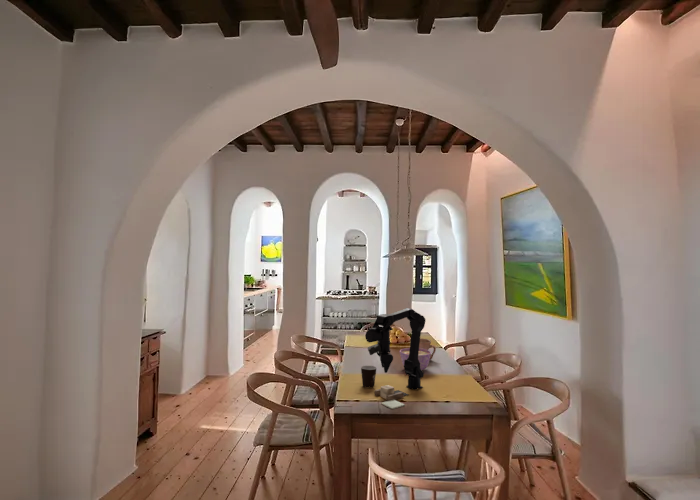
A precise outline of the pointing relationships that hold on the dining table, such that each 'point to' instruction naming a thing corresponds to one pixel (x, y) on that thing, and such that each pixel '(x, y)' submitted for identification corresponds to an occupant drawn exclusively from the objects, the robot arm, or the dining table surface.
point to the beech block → (386, 391)
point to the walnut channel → (390, 397)
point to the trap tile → (401, 391)
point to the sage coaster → (392, 404)
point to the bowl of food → (422, 356)
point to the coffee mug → (368, 375)
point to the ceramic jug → (426, 346)
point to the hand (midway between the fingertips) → (384, 370)
